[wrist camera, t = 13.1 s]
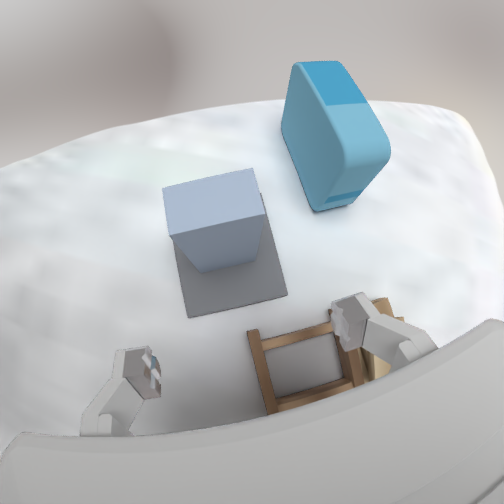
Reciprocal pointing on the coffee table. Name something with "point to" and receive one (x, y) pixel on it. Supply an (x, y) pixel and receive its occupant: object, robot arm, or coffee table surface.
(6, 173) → the coffee table surface
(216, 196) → the pale blue pillar
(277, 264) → the felt mat
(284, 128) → the data package
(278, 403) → the rack
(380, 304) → the offcut stack
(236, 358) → the coffee table surface
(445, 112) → the coffee table surface
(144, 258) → the coffee table surface
